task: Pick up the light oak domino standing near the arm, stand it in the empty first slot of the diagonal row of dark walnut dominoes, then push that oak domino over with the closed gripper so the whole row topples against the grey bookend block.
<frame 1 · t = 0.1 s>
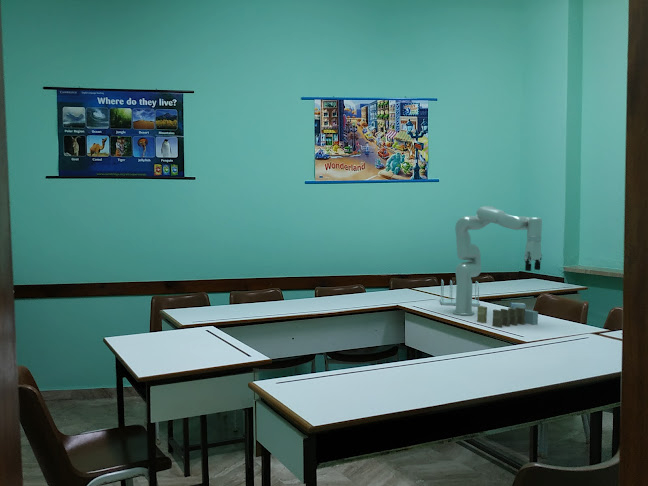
hand: (532, 270, 347), 31 cm above the table, tool pointing down, fingers open, 9 cm apart
domino 3: (504, 325, 348), on the table
domino 2: (497, 326, 345), on the table
medicine box: (517, 318, 374), on the table
domino 4: (512, 324, 351), on the table
file sorter: (459, 304, 422), on the table
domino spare: (481, 322, 357), on the table
domino 5: (519, 323, 354), on the table
bookend block: (528, 322, 358), on the table
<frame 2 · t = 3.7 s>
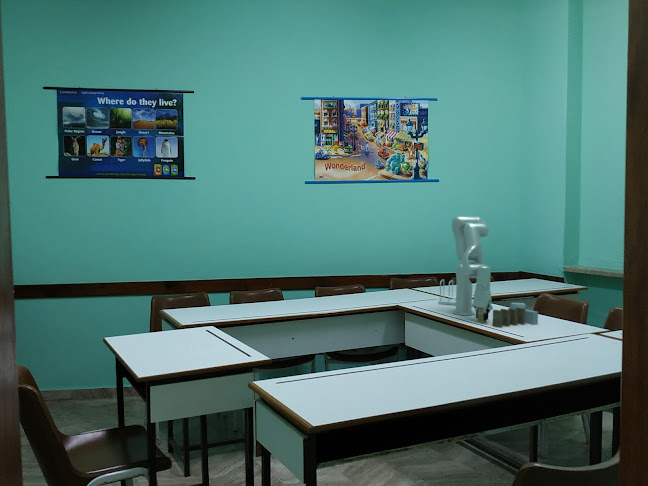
hand: (481, 318, 357), 2 cm above the table, tool pointing down, fingers closed on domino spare, 5 cm apart
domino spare: (481, 322, 357), on the table, touching gripper
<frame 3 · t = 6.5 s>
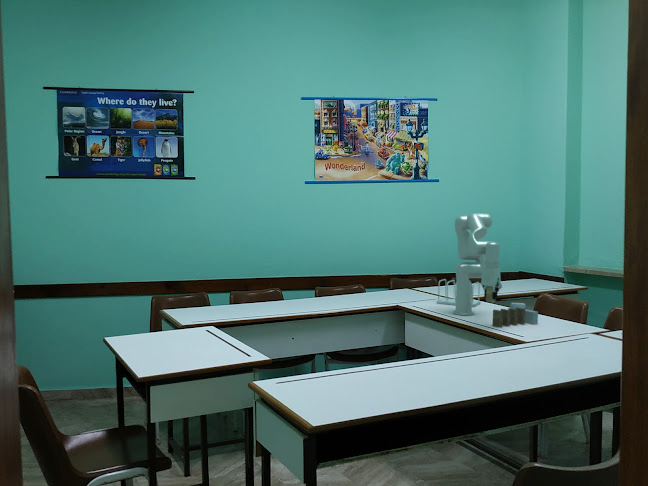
hand: (490, 298, 341), 16 cm above the table, tool pointing down, fingers closed on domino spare, 5 cm apart
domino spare: (490, 301, 341), point 14 cm above the table, touching gripper
when the fingers open (3 cm above the table, at t = 9.2 s): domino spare stays where it is, on the table.
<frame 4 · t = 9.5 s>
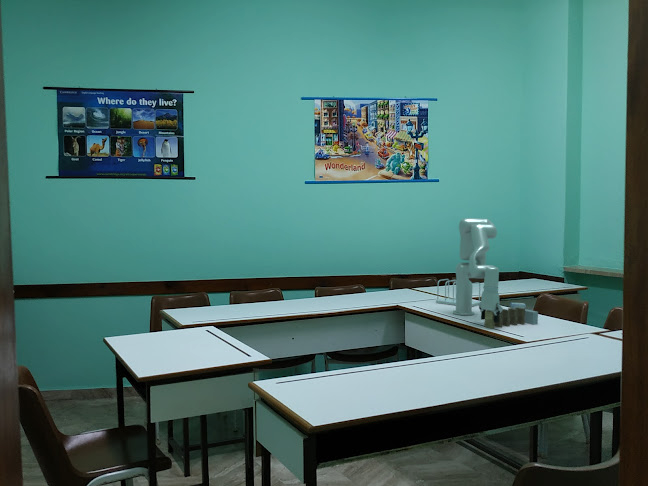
hand: (489, 320, 342), 4 cm above the table, tool pointing down, fingers open, 8 cm apart
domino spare: (489, 327, 342), on the table
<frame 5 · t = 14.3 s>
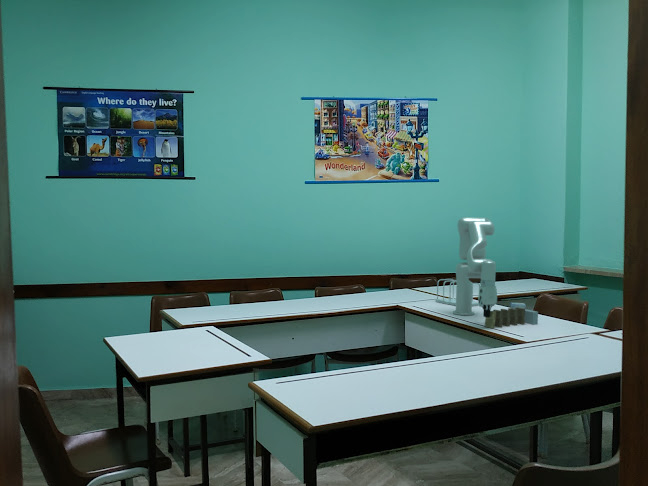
hand: (486, 316, 340), 6 cm above the table, tool pointing down, fingers closed
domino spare: (489, 327, 342), on the table, touching gripper
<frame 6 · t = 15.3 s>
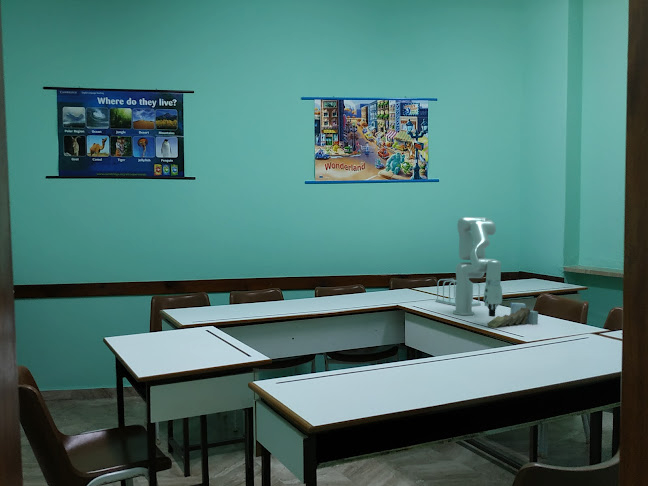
hand: (491, 316, 342), 6 cm above the table, tool pointing down, fingers closed
domino 3: (506, 323, 349), point 1 cm above the table, tilted 61°, touching domino 2, domino 4
domino 2: (498, 324, 346), point 1 cm above the table, tilted 66°, touching domino 3, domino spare
domino 4: (513, 323, 352), point 1 cm above the table, tilted 49°, touching domino 3, domino 5
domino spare: (491, 325, 342), point 1 cm above the table, tilted 69°, touching domino 2
domino 5: (519, 322, 354), on the table, tilted 30°, touching bookend block, domino 4
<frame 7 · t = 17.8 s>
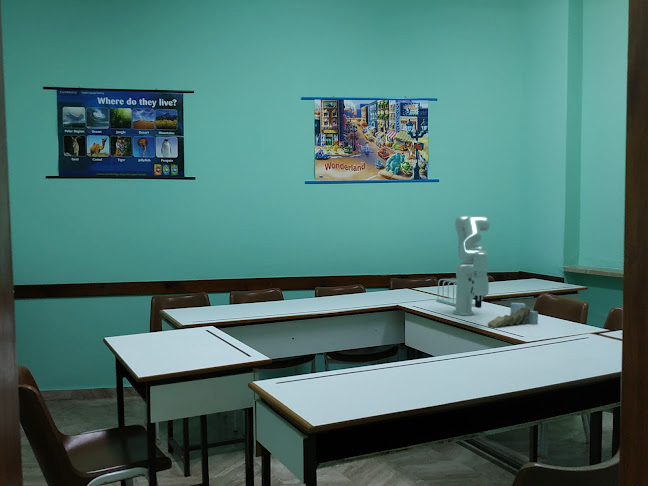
hand: (478, 307, 343), 11 cm above the table, tool pointing down, fingers closed
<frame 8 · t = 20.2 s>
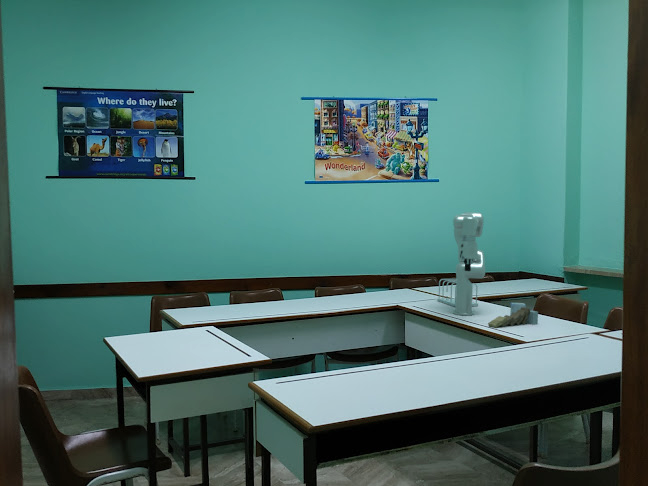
hand: (467, 270, 356), 29 cm above the table, tool pointing down, fingers closed
at the end: domino 5 tilted 28°; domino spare inside the target area (1.7 cm from its centre), point 0.9 cm above the table; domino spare tilted 68° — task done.
